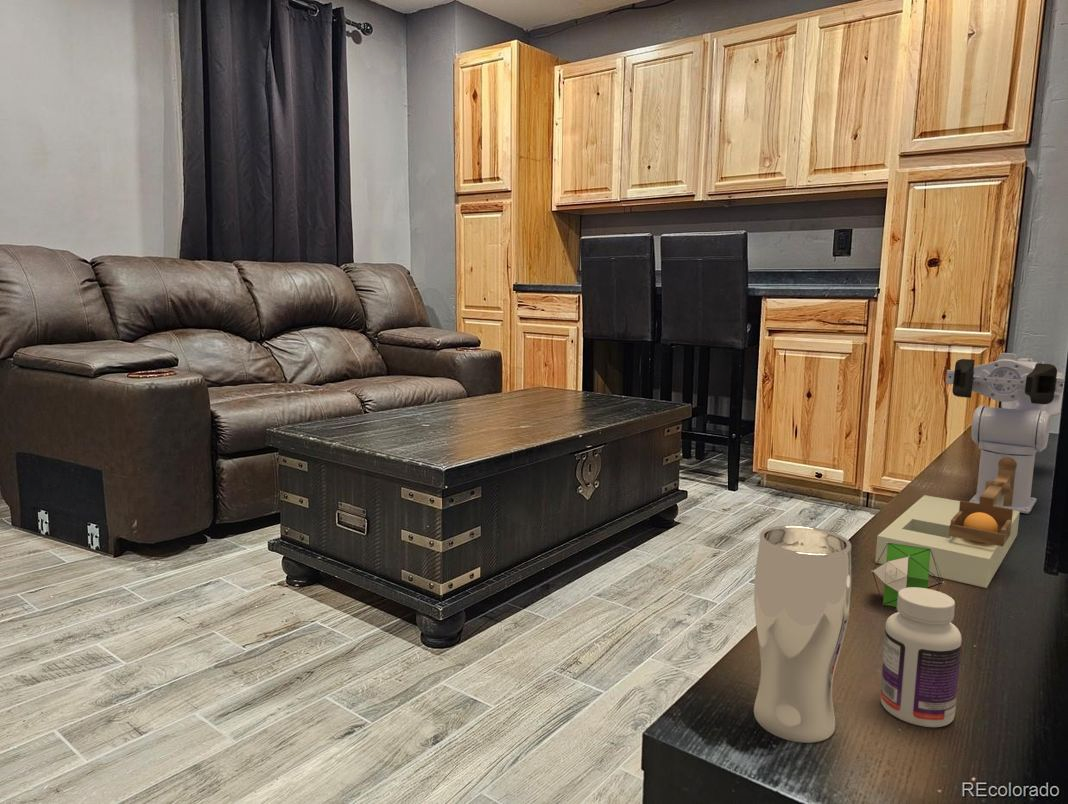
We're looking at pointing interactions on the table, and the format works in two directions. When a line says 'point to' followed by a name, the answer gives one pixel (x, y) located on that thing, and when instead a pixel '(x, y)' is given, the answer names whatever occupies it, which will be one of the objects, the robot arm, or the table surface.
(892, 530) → the cream shape sorter
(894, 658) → the pill bottle
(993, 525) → the ball
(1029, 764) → the table surface
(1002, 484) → the lever
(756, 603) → the beer glass
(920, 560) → the geometric puzzle
